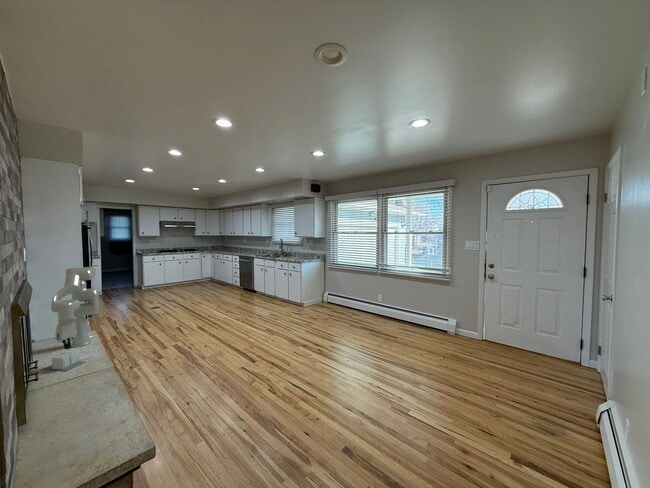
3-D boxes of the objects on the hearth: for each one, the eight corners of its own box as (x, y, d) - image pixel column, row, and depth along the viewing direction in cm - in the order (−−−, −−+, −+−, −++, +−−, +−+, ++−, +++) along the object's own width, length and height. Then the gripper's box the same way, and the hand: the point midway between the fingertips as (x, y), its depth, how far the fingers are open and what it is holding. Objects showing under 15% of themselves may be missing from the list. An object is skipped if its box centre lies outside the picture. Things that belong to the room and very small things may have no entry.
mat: (63, 360, 187) (63, 360, 187) (85, 362, 184) (85, 361, 184) (42, 369, 175) (42, 368, 175) (66, 371, 172) (66, 370, 172)
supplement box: (81, 360, 187) (63, 369, 174) (70, 360, 187) (51, 369, 174) (80, 349, 186) (62, 358, 174) (70, 349, 187) (51, 357, 174)
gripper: (73, 317, 190) (74, 343, 190) (48, 324, 175) (49, 353, 176) (82, 318, 188) (83, 344, 189) (58, 325, 174) (59, 353, 174)
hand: (67, 348), depth 182 cm, fingers closed
